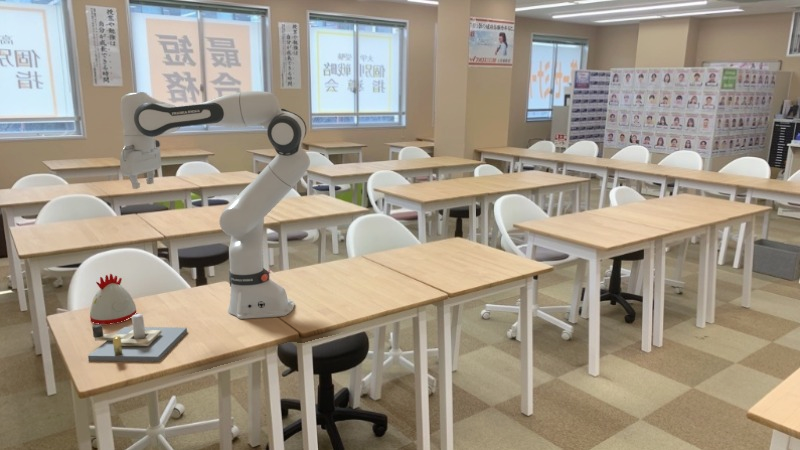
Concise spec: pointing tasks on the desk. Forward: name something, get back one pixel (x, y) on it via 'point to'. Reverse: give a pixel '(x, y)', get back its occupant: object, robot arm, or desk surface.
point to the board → (140, 352)
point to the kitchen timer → (111, 302)
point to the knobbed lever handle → (126, 337)
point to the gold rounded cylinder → (117, 345)
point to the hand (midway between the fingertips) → (143, 186)
